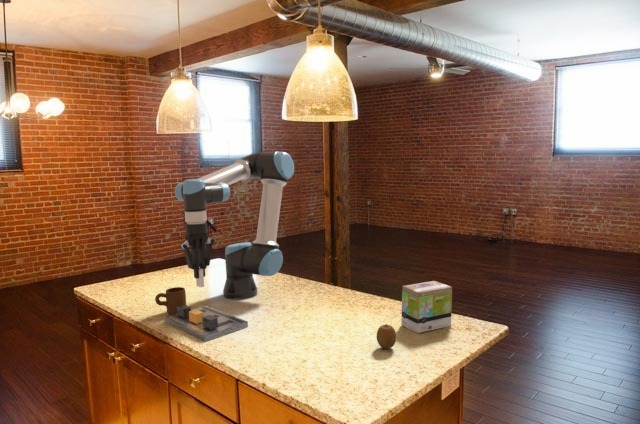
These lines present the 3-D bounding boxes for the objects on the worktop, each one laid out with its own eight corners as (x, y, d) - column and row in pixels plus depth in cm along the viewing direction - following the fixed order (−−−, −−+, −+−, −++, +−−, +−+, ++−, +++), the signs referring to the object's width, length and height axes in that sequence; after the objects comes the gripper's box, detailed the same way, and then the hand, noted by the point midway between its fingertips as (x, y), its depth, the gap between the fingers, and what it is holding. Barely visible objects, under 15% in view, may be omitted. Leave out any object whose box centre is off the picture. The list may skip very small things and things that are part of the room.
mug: (159, 319, 181) (158, 295, 180) (153, 314, 187) (151, 291, 186) (189, 312, 188) (188, 289, 187) (182, 308, 194) (181, 285, 193)
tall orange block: (196, 318, 174) (196, 309, 174) (203, 321, 171) (203, 312, 171) (189, 320, 172) (188, 311, 172) (196, 323, 169) (196, 314, 168)
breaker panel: (205, 310, 191) (205, 296, 190) (248, 326, 171) (247, 311, 170) (164, 322, 178) (163, 307, 177) (204, 341, 158) (203, 325, 158)
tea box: (418, 334, 160) (419, 292, 159) (400, 325, 169) (400, 285, 167) (452, 326, 167) (452, 285, 165) (433, 317, 176) (433, 279, 174)
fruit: (383, 354, 145) (382, 329, 144) (373, 346, 151) (372, 322, 150) (400, 350, 148) (400, 325, 147) (389, 343, 154) (389, 319, 153)
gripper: (206, 219, 176) (210, 280, 179) (174, 224, 167) (178, 288, 170) (217, 221, 171) (221, 284, 174) (185, 225, 161) (189, 292, 165)
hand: (200, 286), depth 172 cm, fingers closed
